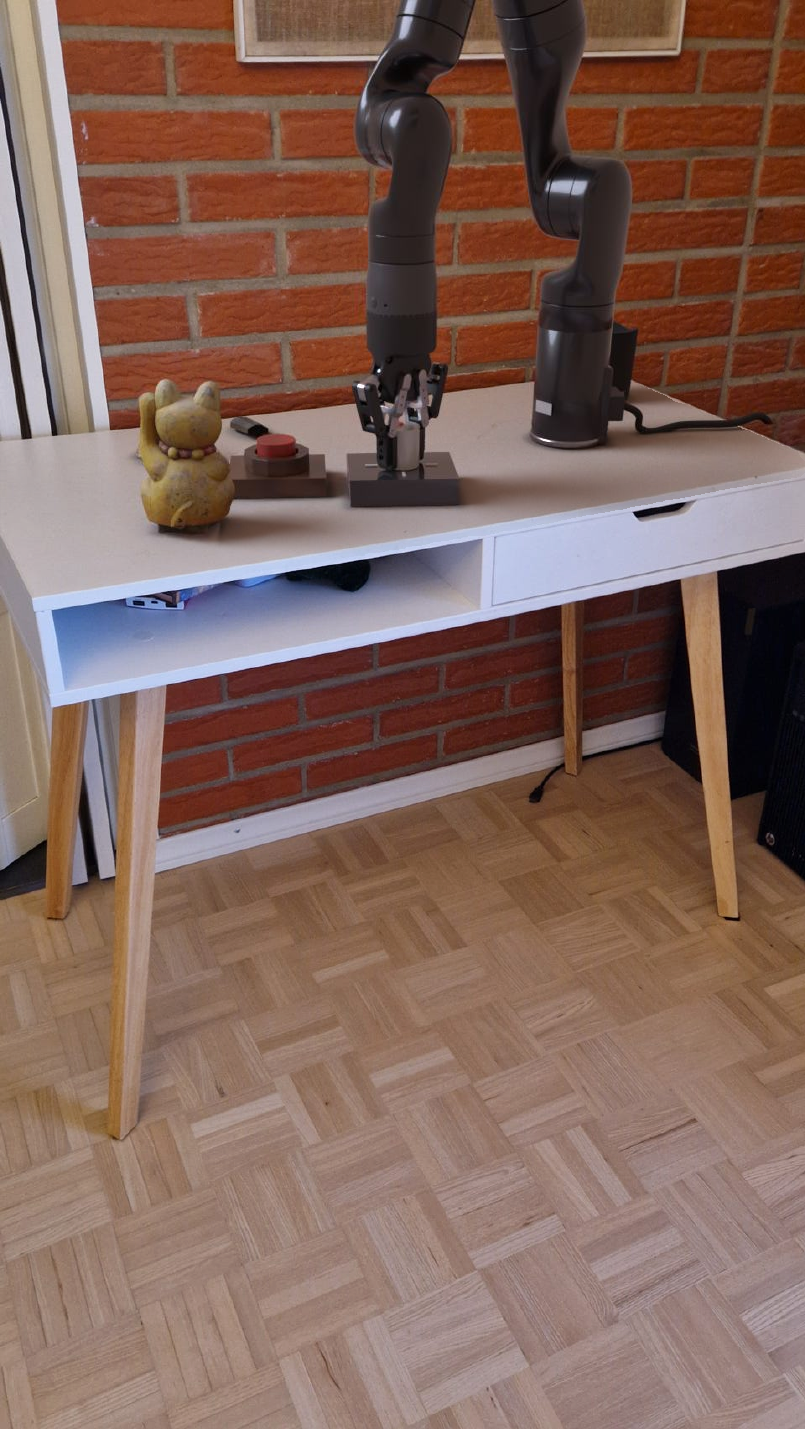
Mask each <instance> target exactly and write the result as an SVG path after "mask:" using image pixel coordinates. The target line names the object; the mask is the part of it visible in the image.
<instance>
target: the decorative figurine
mask: <svg viewBox="0 0 805 1429" xmlns="http://www.w3.org/2000/svg"><path fill="white" fill-rule="evenodd" d="M195 392H196V393H195V394H194V395H182V393H181V391H180V388H179V386H178V384H177V383H175V382H174V381H172V380H170V379H168V378H164V379H161V380H160V381H159V382H157V385H156V387H155V392H149V391H147V392H144V393H142V394H141V395H140V396H139V397H138V407H139V415H140V425H139V435H138V436H139V437H138V438H139V439H138V444H139V446H140V454H141V457H140V459H141V462H142V464H143V468H144V469H145V471H146V472H147V474H148V475H146V476H145V477H144V479H143V481H142V483H141V486H140V498H141V502H142V505H143V509H144V512H145V517H146V518H147V520H148V521H150V522H151V523H154V524H156V525H157V533H158V534H166V533H167V534H170V533H171V534H201V535H203V534H204V535H205V534H206V532H207V531H208V528H209V527H210V526H211V525H213V523H217V522H219V521H221V520H223V519H225V518H227V516H228V515H229V514H230V511H231V506H232V504H233V502H234V499H235V498H234V491H235V489H234V483H233V481H232V479H231V478H230V477H229V476H228V474H229V472H230V468H231V467H230V461H229V460H228V459H227V457H225V456H224V455H223V454H222V453H220V452H218V451H217V446H216V445H215V444H216V443H217V442H218V440H219V438H220V437H221V433H222V430H223V421H222V416H221V413H220V409H221V408H220V407H221V390H220V386H219V385H218V384H217V383H216V382H215V381H211V380H208V381H205V382H203V383H202V384H201V385H200V386H199V387H198V388H197V390H196V391H195Z"/></svg>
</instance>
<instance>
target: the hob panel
mask: <svg viewBox="0 0 805 1429" xmlns="http://www.w3.org/2000/svg"><path fill="white" fill-rule="evenodd" d="M460 480H461V479H460V476H459V473H458V471H457V469H456V466H455V463H454V461H453V458H452V454H451V453H450V451H424V458H423V459H422V460H419V467H418V468H416V469H412V470H405V471H399V470H391V471H390V470H386V469H382V468H380V467H379V465H378V463H377V452H355V453H354V452H353V453H351V452H349V453H348V452H347V453H346V481H347V491H348V497H349V498H348V500H349V506H350V508H365V507H366V508H367V507H369V508H370V507H411V506H412V507H419V506H420V507H423V506H426V507H427V506H459V505H460V484H461V483H460Z"/></svg>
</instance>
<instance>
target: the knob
mask: <svg viewBox="0 0 805 1429" xmlns="http://www.w3.org/2000/svg"><path fill="white" fill-rule="evenodd" d="M385 425H388V422H385ZM395 437H397V468H396V469H394V470H399V471H405V470H412V469H416V468H418V467H419V447H420V425H419V424H417V423H415V422H410V421H406V420H399V422H398V428H397V433H396V436H395Z"/></svg>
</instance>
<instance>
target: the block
mask: <svg viewBox="0 0 805 1429" xmlns="http://www.w3.org/2000/svg"><path fill="white" fill-rule="evenodd" d="M229 428H230V429H234V430H236V431H238V432H241V433H244V434H246V435H269V428H268V427H267V426H265V425H263V424H261V423H260V422H258V421H255V419H252V418H249V417H248V416H242V415H240V416H234V417H233V419H231V420H230V421H229Z"/></svg>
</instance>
